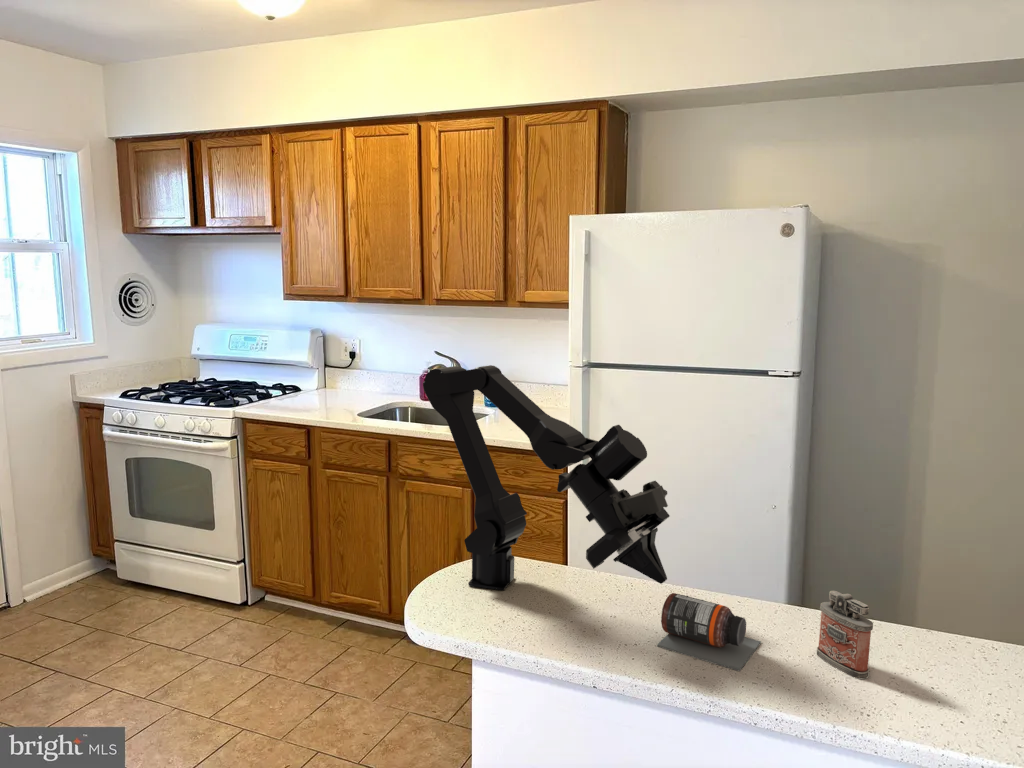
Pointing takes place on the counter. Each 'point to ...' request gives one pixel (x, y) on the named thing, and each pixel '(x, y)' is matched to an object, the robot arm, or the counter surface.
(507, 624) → the counter surface
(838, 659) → the lighter
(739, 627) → the supplement bottle
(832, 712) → the counter surface
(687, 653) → the mat
